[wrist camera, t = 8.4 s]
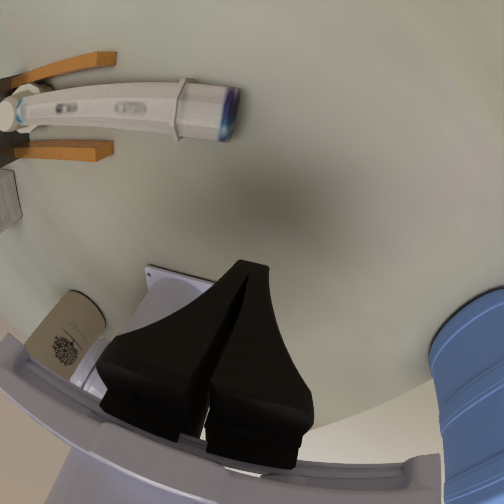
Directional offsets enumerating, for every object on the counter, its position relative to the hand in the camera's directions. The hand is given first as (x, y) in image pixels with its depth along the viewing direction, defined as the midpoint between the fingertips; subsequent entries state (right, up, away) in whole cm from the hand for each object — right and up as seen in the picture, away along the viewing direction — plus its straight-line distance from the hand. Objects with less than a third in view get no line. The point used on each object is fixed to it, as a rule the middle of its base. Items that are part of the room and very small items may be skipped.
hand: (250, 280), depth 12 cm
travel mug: (-25, -7, +24) cm, 36 cm away
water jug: (+28, -9, +12) cm, 32 cm away
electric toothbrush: (-13, +15, +7) cm, 21 cm away
